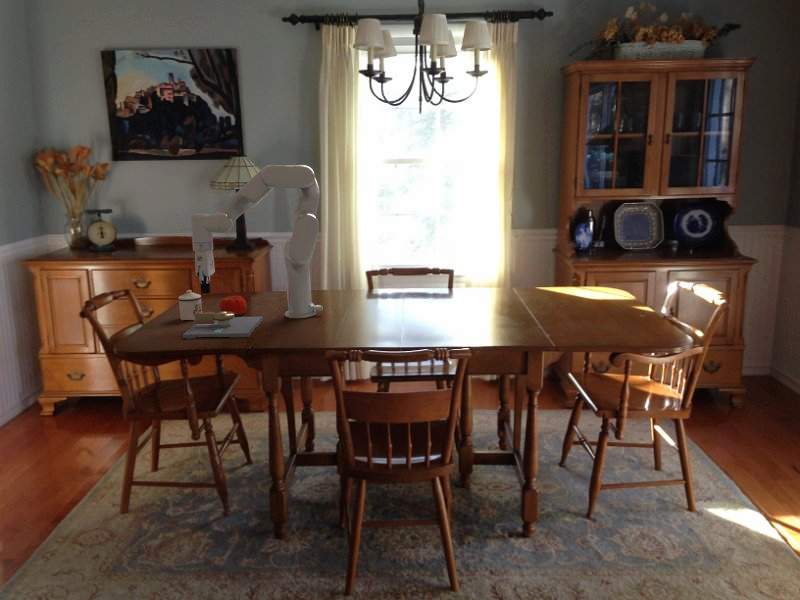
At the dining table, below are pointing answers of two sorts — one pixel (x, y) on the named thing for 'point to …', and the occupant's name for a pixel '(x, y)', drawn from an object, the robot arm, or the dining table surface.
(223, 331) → the base
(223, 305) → the tomato
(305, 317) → the robot arm
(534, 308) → the dining table surface
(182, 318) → the teacup with lid
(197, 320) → the lock handle
